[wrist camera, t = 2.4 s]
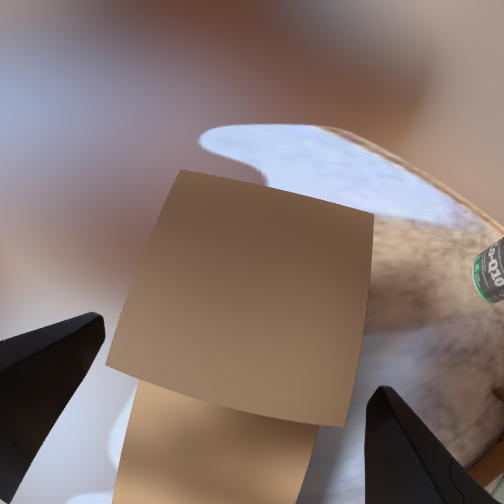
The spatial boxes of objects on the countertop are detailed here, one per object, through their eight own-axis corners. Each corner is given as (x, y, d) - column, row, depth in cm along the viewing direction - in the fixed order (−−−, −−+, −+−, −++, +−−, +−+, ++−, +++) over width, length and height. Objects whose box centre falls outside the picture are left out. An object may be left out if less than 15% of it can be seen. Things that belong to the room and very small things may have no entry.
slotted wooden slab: (266, 545, 11) (271, 575, 8) (129, 509, 12) (107, 532, 8) (332, 304, 19) (353, 286, 15) (193, 271, 19) (182, 245, 16)
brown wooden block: (273, 392, 15) (344, 427, 4) (197, 372, 16) (105, 365, 5) (290, 318, 17) (374, 213, 6) (217, 301, 17) (180, 169, 6)
